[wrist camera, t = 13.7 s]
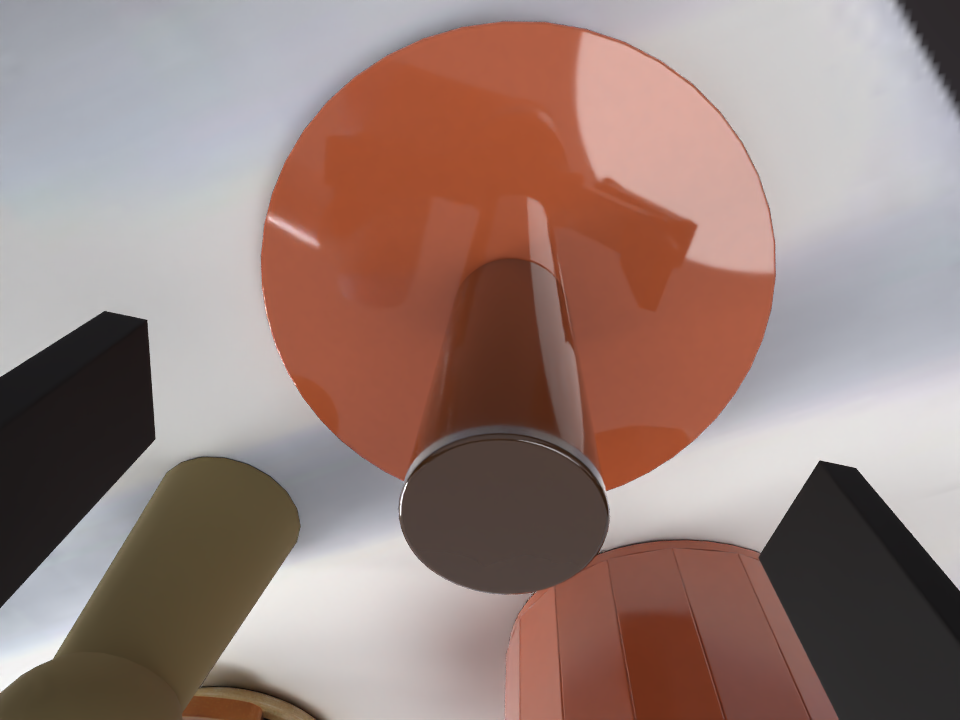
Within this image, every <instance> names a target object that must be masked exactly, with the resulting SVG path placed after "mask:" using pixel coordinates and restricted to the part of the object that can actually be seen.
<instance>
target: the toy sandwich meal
mask: <svg viewBox="0 0 960 720" xmlns="http://www.w3.org/2000/svg"><path fill="white" fill-rule="evenodd" d="M182 719H183V720H316V719H315V718H313V717H312V716H310V715H309V714H308V713H306V712H305V711H303V710H301V709H299V708H298V707H296V706H294V705H292V704H290V703H288V702H285V701H283V700H281V699H278V698H275V697H272V696H269V695H266V694H263V693H259V692H255V691H250V690H245V689H239V688H230V687H203V688H199V689H198V690H197V692H196V693H195V695H194V696H193V698H192V699H191V701H190V702H189V704H188V705H187V707H186V708H185V710H184V711H183V713H182Z"/></svg>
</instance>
